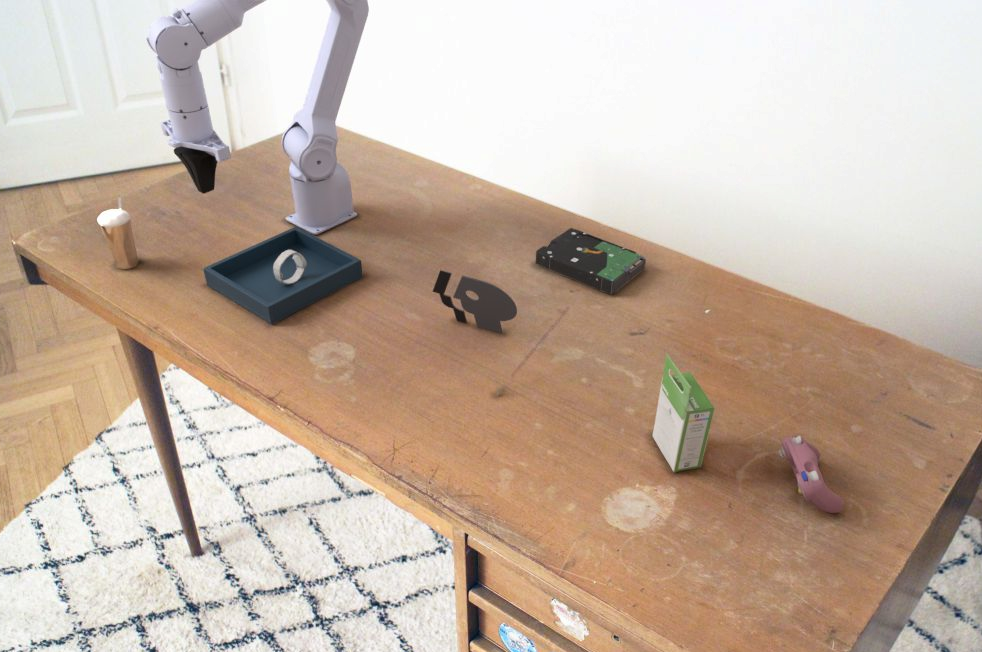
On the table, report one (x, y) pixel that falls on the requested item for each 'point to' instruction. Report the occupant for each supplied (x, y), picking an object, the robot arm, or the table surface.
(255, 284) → the tray
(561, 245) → the disk drive
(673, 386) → the ink box
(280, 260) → the wristwatch
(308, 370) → the table surface
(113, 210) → the milkshake
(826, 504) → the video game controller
